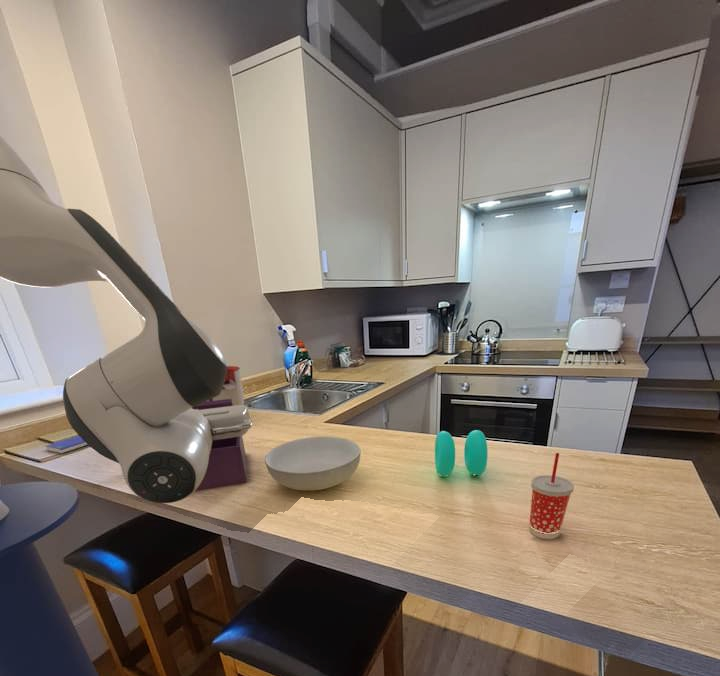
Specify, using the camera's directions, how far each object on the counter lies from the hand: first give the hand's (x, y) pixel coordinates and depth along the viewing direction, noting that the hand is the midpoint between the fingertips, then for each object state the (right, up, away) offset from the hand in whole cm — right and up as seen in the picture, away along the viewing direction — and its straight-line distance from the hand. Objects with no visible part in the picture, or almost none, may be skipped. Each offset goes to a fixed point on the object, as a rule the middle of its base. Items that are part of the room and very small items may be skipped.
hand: (191, 414), depth 70 cm
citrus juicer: (-17, +10, +69) cm, 72 cm away
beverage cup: (+61, -21, -5) cm, 65 cm away
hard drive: (-57, -1, +51) cm, 77 cm away
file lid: (-5, +3, +20) cm, 21 cm away
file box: (-4, -10, +25) cm, 28 cm away
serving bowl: (+20, -12, +18) cm, 30 cm away
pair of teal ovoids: (+52, -11, +17) cm, 56 cm away
